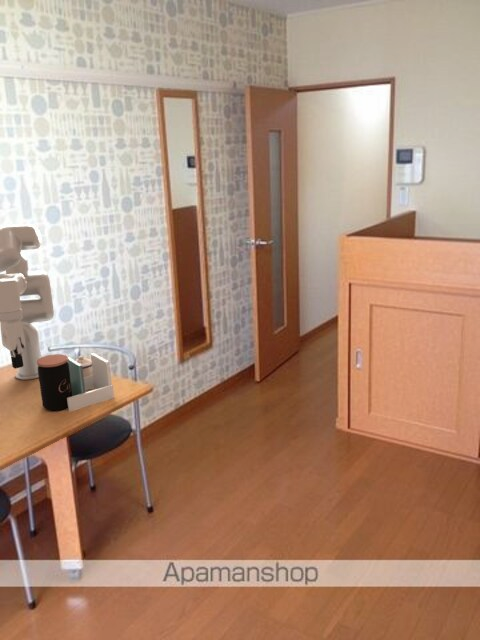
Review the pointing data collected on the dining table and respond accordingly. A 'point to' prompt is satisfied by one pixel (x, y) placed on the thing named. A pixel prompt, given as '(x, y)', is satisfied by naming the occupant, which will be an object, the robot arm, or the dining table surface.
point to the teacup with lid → (85, 366)
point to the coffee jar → (54, 382)
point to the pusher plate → (76, 377)
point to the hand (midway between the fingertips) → (18, 366)
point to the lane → (94, 385)
